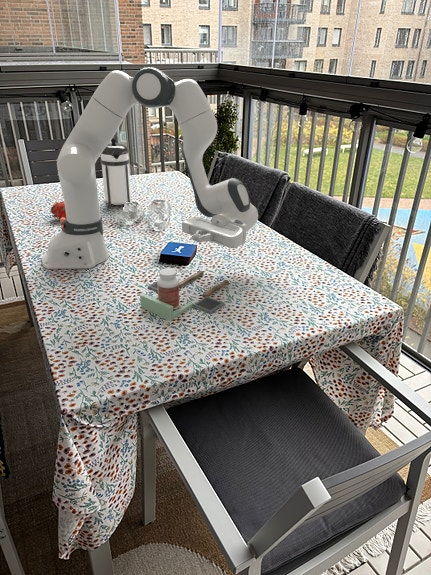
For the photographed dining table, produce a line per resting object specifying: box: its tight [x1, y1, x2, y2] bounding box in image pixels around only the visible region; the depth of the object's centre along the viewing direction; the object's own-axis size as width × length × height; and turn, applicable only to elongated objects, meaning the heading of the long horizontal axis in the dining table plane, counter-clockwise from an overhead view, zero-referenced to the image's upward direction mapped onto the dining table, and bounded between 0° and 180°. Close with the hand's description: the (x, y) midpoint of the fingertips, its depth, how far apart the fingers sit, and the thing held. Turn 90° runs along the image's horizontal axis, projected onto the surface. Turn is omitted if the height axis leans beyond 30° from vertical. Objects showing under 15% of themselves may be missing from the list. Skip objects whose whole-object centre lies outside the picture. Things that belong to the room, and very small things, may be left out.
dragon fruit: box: [49, 200, 67, 221], centre depth 189 cm, size 8×8×12 cm
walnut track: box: [179, 270, 230, 298], centre depth 141 cm, size 12×11×1 cm
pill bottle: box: [157, 267, 180, 311], centre depth 127 cm, size 6×6×11 cm
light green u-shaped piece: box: [139, 293, 194, 321], centre depth 128 cm, size 10×11×4 cm
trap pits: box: [147, 281, 225, 315], centre depth 135 cm, size 7×25×1 cm, turn 54°
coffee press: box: [100, 137, 132, 209], centre depth 204 cm, size 17×16×30 cm
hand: (196, 239), depth 131 cm, fingers closed
